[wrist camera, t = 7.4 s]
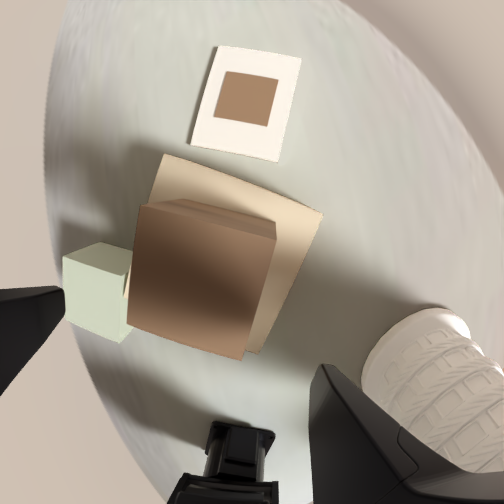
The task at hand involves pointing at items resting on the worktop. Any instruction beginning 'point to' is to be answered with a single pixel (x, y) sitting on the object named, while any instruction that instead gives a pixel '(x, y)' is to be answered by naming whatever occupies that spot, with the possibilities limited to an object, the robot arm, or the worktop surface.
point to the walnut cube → (199, 274)
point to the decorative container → (440, 388)
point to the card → (247, 103)
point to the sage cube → (98, 289)
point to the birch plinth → (251, 203)
